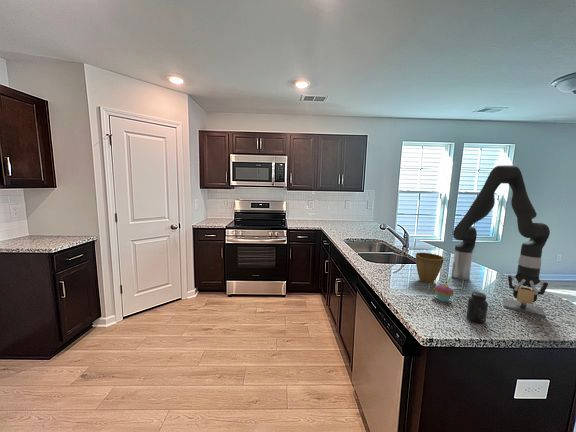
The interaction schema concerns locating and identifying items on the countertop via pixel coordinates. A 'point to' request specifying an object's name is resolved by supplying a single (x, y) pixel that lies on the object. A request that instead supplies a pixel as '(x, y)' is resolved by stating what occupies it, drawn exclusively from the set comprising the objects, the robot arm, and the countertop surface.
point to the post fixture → (524, 307)
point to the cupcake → (444, 292)
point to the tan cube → (525, 295)
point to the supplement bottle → (477, 308)
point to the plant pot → (428, 266)
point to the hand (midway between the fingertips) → (524, 299)
